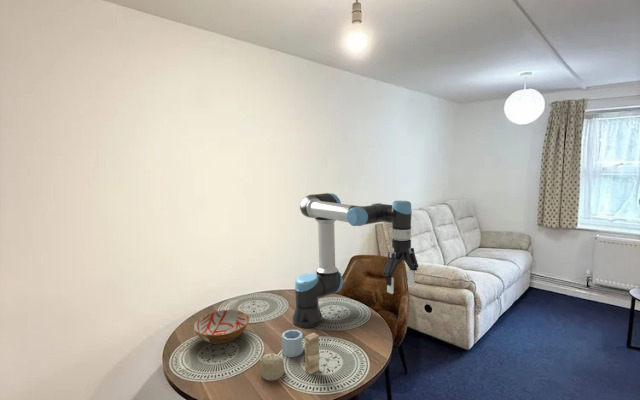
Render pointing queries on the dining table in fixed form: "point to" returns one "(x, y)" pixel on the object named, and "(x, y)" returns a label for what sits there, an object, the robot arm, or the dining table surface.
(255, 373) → the dining table surface
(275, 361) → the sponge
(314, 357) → the tan bar
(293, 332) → the jar
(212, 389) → the dining table surface
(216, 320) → the bowl
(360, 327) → the dining table surface
